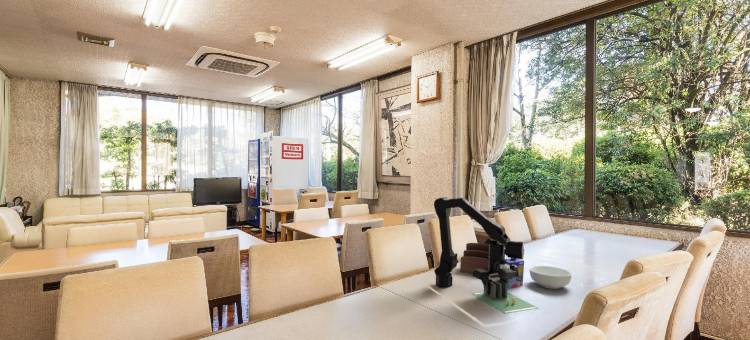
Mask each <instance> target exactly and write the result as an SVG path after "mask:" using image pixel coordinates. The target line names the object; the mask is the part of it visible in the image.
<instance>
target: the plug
mask: <svg viewBox="0 0 750 340" xmlns="http://www.w3.org/2000/svg"><path fill="white" fill-rule="evenodd" d="M491 279H492V281H491V283H490V295H488V294H487V292H486V290H485V288H484V287H483V292H484V295H486V296H488V297H490V298H491V299H493V300H496V297H497V298H499V299H501V296H502V297H504V298H507V292H508V288H507V283H506V282H504V281H501V280H499V278H498V277H495V278H491Z"/></svg>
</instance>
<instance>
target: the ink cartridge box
mask: <svg viewBox="0 0 750 340" xmlns="http://www.w3.org/2000/svg"><path fill="white" fill-rule="evenodd" d="M505 259H506V264H507V265H510V266H511V265H516V266H517V270H518V272H519V276H515V277H514V278H513V279H511V280H509V281H508V283H507V289H511V288H517V287H522V286H524V285H523V284H524V271H525V269H524V268H525V260H524V259H523V260H522V259H515V258H505Z"/></svg>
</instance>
